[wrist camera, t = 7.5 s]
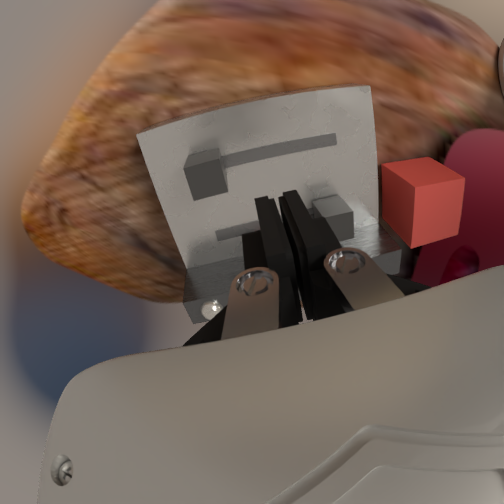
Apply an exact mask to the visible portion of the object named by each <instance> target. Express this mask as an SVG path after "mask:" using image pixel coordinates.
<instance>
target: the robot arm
mask: <svg viewBox="0 0 504 504" xmlns="http://www.w3.org/2000/svg"><path fill="white" fill-rule="evenodd" d="M498 68H499V78H500V85H501V89H502V93H503V96H504V39H503V41H502V43H501V46H500V50H499V59H498ZM254 200H255V205H256V210H257V215H258V220H259V225H260V230H258V231H253V232H249V233H244V234H242V246H243V257H244V268H245V271H243V272H241V273H240V274H238V275H237V276H236V277H235V278H234V279H233V281H232V284H231V288H230V293H229V298H228V304H227V305H226V306H225V307H224V308H223V309H222V310H221V311H220V312H219V313H218V314H216V315H215V316H214V317H213V318H212V319H211V320H210V321H209V322H208V323H207V324H206V325H205V326H203V327H202V328H201V329H200V330H199V331H198V332H197V333H196V334H195V335H193V336H192V337H191V338H190V339H189V340H188V341H187V342H186V343H185V344H184V345H183V346H182V347H175V348H168V349H162V350H156V351H149V352H143V353H136V354H130V355H126V356H121V357H117V358H113V359H110V360H107V361H104V362H101V363H99V364H96V365H94V366H92V367H90V368H88V369H86V370H84V371H82V372H81V373H79V374H78V375H76V376H75V377H74V378H73V379H72V380H71V381H70V382H69V383H68V385H67V386H66V388H65V389H64V391H63V393H62V395H61V397H60V399H59V402H58V404H57V407H56V410H55V413H54V416H53V419H52V422H51V425H50V429H49V433H48V437H47V441H46V446H45V450H44V455H43V461H42V467H41V474H40V481H39V489H38V499H37V504H504V265H502V266H498V267H494V268H489V269H487V270H484V271H480V272H477V273H474V274H471V275H468V276H465V277H462V278H459V279H456V280H453V281H451V282H448V283H445V284H442V285H439V286H436V287H433V288H432V287H429V286H426V285H423V284H420V283H417V282H413V281H410V280H407V279H403V278H400V277H397V276H393V275H390V274H387V273H384V271H383V270H382V269H381V268H380V267H379V266H378V265H377V264H376V263H375V262H374V261H373V260H372V259H371V257H370V256H369V255H368V254H367V253H365V252H364V251H362V250H360V249H357V248H351V247H347V248H342V246H341V244H340V242H339V241H338V239H337V237H336V235H335V234H334V232H333V230H332V229H331V227H330V225H329V224H328V222H327V220H326V219H325V217H324V216H322V217H317V218H313V219H312V218H311V216H310V214H309V212H308V210H307V208H306V206H305V204H304V203H303V201H302V199H301V197H300V195H299V193H298V192H297V190H291V191H286V192H283V196H280V197H278V200H279V206H280V211H281V216H282V220H281V217H280V214H279V211H278V208H277V205H276V202H275V200H274V198H271V199H269V198H268V196H263V197H259V198H254ZM282 222H283V223H282ZM299 293H300V296H301V300H302V303H303V307H304V310H305V314H306V317H307V320H311V319H313V321H312V322H308V323H303V324H299V323H298V322H302V321H303V318H302V311H301V304H300V297H299Z"/></svg>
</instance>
